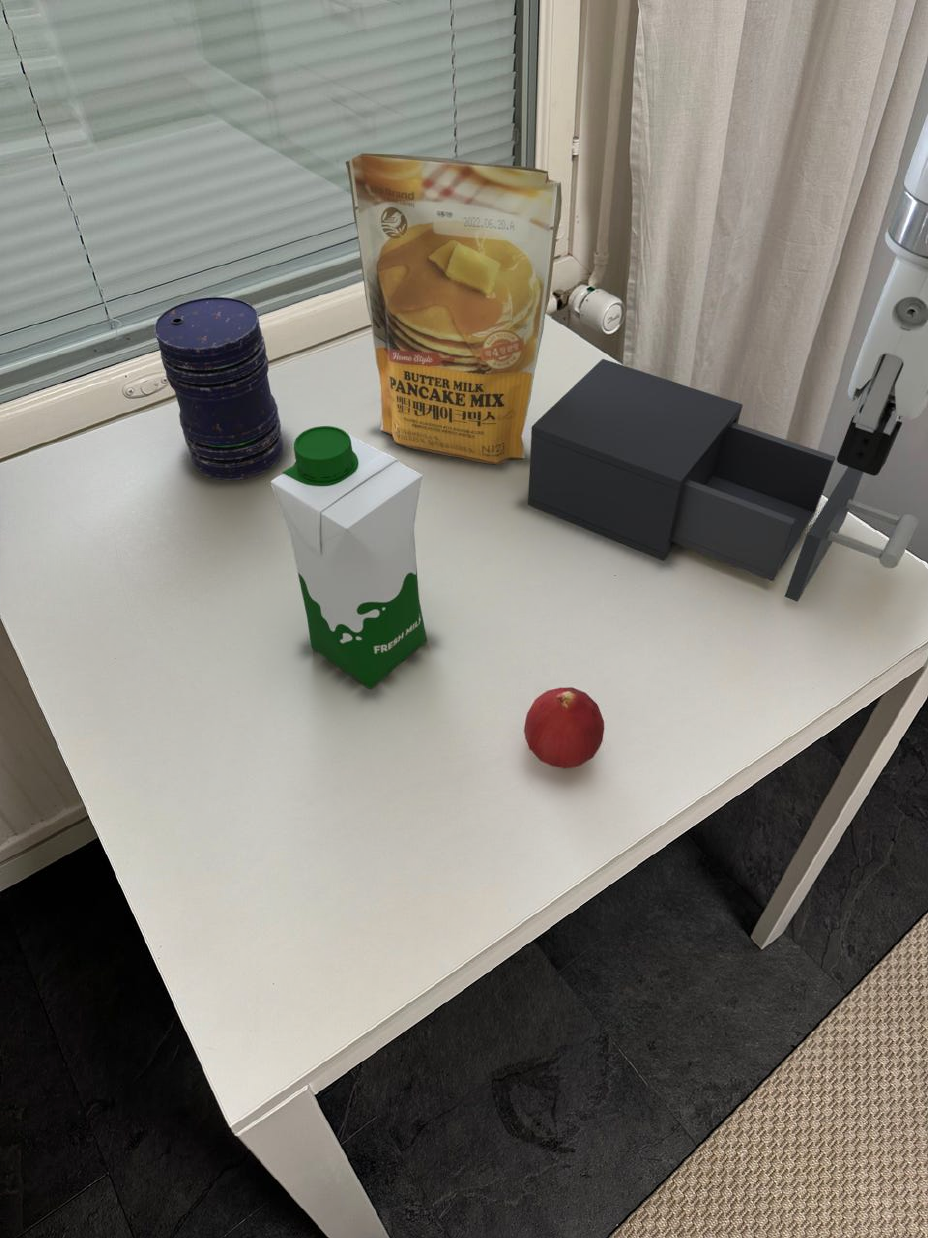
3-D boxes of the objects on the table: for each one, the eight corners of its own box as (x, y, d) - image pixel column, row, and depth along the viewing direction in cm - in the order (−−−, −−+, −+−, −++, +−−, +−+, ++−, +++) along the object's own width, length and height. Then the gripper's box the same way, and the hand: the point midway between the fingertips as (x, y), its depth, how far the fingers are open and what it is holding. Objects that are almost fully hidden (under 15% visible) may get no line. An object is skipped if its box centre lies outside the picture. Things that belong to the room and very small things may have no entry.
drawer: (907, 545, 82) (938, 482, 77) (866, 630, 75) (896, 567, 70) (709, 473, 90) (724, 411, 84) (654, 544, 83) (667, 481, 77)
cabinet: (722, 482, 90) (742, 404, 83) (664, 561, 83) (680, 481, 76) (593, 435, 96) (602, 358, 89) (527, 504, 88) (531, 426, 81)
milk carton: (368, 592, 80) (344, 402, 66) (443, 641, 76) (435, 449, 61) (295, 648, 76) (251, 458, 61) (371, 703, 72) (343, 513, 57)
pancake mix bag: (384, 406, 100) (360, 138, 80) (547, 438, 96) (567, 163, 75) (360, 440, 96) (328, 166, 75) (530, 475, 91) (545, 194, 71)
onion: (544, 714, 71) (550, 648, 65) (611, 745, 69) (623, 679, 63) (509, 768, 67) (512, 703, 62) (578, 801, 65) (588, 738, 59)
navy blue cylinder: (294, 426, 98) (271, 298, 87) (272, 483, 91) (243, 351, 80) (206, 422, 98) (172, 294, 87) (177, 477, 92) (137, 346, 81)
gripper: (991, 288, 49) (877, 537, 62) (1048, 195, 57) (937, 433, 71) (855, 252, 52) (775, 497, 65) (929, 169, 60) (844, 402, 74)
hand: (859, 463), depth 68 cm, fingers closed
